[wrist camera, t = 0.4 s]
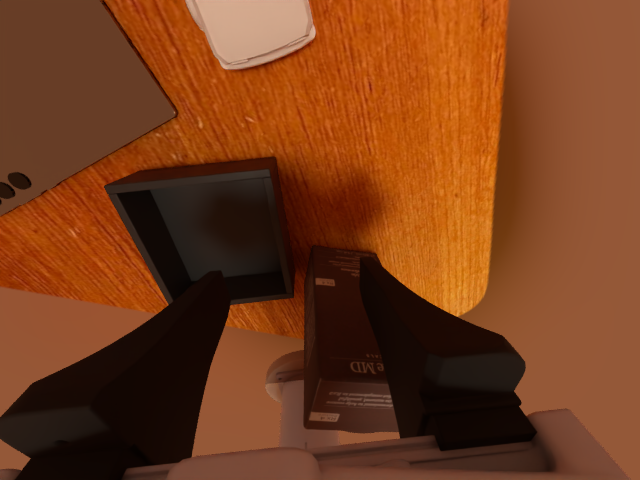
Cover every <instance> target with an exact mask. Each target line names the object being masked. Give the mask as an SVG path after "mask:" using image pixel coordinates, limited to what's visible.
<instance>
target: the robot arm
mask: <svg viewBox="0 0 640 480" xmlns="http://www.w3.org/2000/svg"><path fill="white" fill-rule="evenodd" d="M359 289H360V293H361V298H362V302H363V305H364V308H365V311H366V314H367V317H368V319H369V322H370V325H371V327H372V330H373V333H374V336H375V338H376V341H377V344H378V347H379V350H380V354H381V358H382V362H383V365H384V369H385V373H386V377H387V382H388V386H389V390H390V394H391V398H392V403H393V407H394V411H395V416H396V420H397V425H398V430H399V434H400V439H392V440H383V441H374V442H366V443H355V444H346V445H340V441H339V432H338V430H312V429H311V430H307V429H305V428H304V426H303V415H304V369H301V370H292V371H284V372H278V373H276V379H277V382H278V386H279V389H280V392H281V395H282V406H281V420H280V435H279V447H277V448H268V449H258V450H249V451H239V452H230V453H221V454H212V455H204V456H196V457H192V450H193V444H194V439H195V433H196V428H197V423H198V417H199V412H200V407H201V403H202V399H203V394H204V390H205V385H206V381H207V378H208V374H209V370H210V366H211V363H212V360H213V357H214V354H215V351H216V348H217V346H218V343H219V340H220V337H221V335H222V332H223V329H224V326H225V323H226V321H227V318H228V313H229V309H230V303H231V298H230V295H229V292H228V289H227V286H226V283H225V280H224V277H223V274H222V271H221V270H217V271H209V272H208V273H206V274H205V275H204V276H203V277H202V278H200V279H199V280H198V281H197V282H196V283H195V284H193V285H192V286H191V287H190V288H189V289H188V290H186V291H185V292H184V293H183V294H182V295H181V296H179V297H178V298H177V299H176V300H175V301H173V302H172V303H171V304H169V305H168V306H167V307H166V308H164V309H163V310H162V311H161V312H159V313H158V314H157V315H155V316H154V317H153V318H151V319H150V320H148V321H147V322H145V323H144V324H143V325H141V326H140V327H138V328H137V329H135V330H133V331H132V332H130V333H129V334H127V335H125V336H124V337H122V338H120V339H119V340H117V341H115V342H114V343H112V344H110V345H109V346H107V347H105V348H103V349H101V350H100V351H98V352H96V353H94V354H92V355H90V356H88V357H86V358H84V359H82V360H80V361H79V362H76V363H74V364H72V365H70V366H68V367H66V368H64V369H62V370H60V371H58V372H56V373H53V374H51V375H49V376H47V377H45V378H43V379H40V380H38V381H36V382H34V383H32V384H31V385H30V386H29V387H28V389H27V390H26V391H25V392H24V393H23V394H22V395H21V396H20V397H19V398H18V399H17V400H16V401H15V402H14V403H13V404H12V405H11V407H10V408H9V409H8V410H7V411H6V412H5V413H4V414H3V415H2V416H1V417H0V439H1V440H3V441H4V442H5V443H7V444H9V445H10V446H12V447H13V448H15V449H17V450H18V451H20V452H21V453H23V454H25V455H26V456H28V457H30V458H31V459H30V461H29V462H28V463H27V464H26V466H25V467H24V468H23V470H22V471H21V470H17V469H2V470H0V480H631V479H630V478H629V477H628V476H627V474H626V473H625V472H624V471H623V470H622V469H621V468H620V466H619V465H618V464H617V463H616V462H615V461H614V460H613V458H612V457H611V456H610V455H609V454H608V453H607V452H606V451H605V449H604V448H603V447H602V446H601V445H600V443H599V442H598V441H597V440H596V439H595V438H594V437H593V435H592V434H591V433H590V432H589V431H588V430H587V429H586V428H585V426H584V425H583V424H582V423H581V422H580V421H579V419H578V418H577V417H576V416H575V415H574V414H573V412H572V411H571V410H569V409H557V410H548V411H539V412H534V413H531V414H529V415H527V416H525V414H524V413H523V411H522V410H521V409H520V407H519V406H520V405H521V400H520V399H519V397H518V396H517V395H516V393H515V392H514V390H515V388H516V386H517V385H518V383H519V381H520V380H521V378H522V377H523V374H524V372H525V368H526V367H525V361H524V360H523V359H522V357H521V356H520V355H519V354H518V352H517V351H516V350H515V349H514V348H513V347H512V346H511V344H510V343H509V342H508V341H507V340H506V339H505V338H504V337H503V336H502V335H499V334H497V333H495V332H492V331H489V330H486V329H484V328H481V327H478V326H476V325H474V324H471V323H469V322H467V321H465V320H462V319H460V318H458V317H456V316H454V315H452V314H450V313H448V312H446V311H444V310H442V309H440V308H438V307H436V306H435V305H433V304H431V303H429V302H428V301H426V300H425V299H423V298H422V297H420V296H418V295H417V294H415V293H414V292H412V291H411V290H410V289H408V288H407V287H406V286H404V285H403V284H402V283H401V282H399V281H398V280H397V279H396V278H395V277H393V276H392V275H391V274H390V273H389V272H388V271H387V270H386V269H384V268H383V267H382V266H381V265H380V264H379V263H378V262H377V261H376V260H375V259H374V258H373V257H372V256H371V257H360V278H359ZM191 457H192V458H191Z"/></svg>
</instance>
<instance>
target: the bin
mask: <svg viewBox="0 0 640 480" xmlns="http://www.w3.org/2000/svg"><path fill="white" fill-rule="evenodd" d="M104 188H105V190H106V192H107V194H109V197H110V199H111V201H112V203H113V205H114V206H115V208H116V210H117V212H118V214H119V215H120V217H121V219H122V221H123V223H124V224H125V226H126V228H127V230H128V232H129V234H130V235H131V237H132V239H133V241H134V243H135V244H136V246H137V248H138V250H139V252H140V253H141V255H142V257H143V259H144V261H145V263H146V264H147V266H148V268H149V270H150V272H151V273H152V275H153V277H154V279H155V281H156V282H157V284H158V286H159V288H160V290H161V292H162V293H163V295H164V297H165V299H166V301H167V302H168V304H171V303H172V302H173V301H175V300H176V299H177V298H178V297H179V296H181V295H182V294H183V293H184V292H185V291H186V290H188V289H189V288H190V287H191V286H192V285H193V284H195V283H196V282H197V281H198V280H199V279H200V278H202V277H203V276H204V275H205V274H206V273H208V272H209V271H217V270H221V271H222V274H223V277H224V280H225V283H226V286H227V289H228V292H229V295H230V298H231V303H230V305H234V304H243V303H252V302H261V301H270V300H279V299H288V298H294V286H295V267H294V261H293V256H292V250H291V244H290V238H289V233H288V227H287V221H286V216H285V210H284V204H283V198H282V193H281V187H280V181H279V175H278V170H277V164H276V158H275V157H269V158H260V159H250V160H240V161H231V162H221V163H211V164H202V165H192V166H183V167H173V168H163V169H154V170H144V171H138V172H136V173H133V174H131V175H129V176H126V177H124V178H122V179H119V180H117V181H114V182H112V183H110V184H107V185H105V186H104Z"/></svg>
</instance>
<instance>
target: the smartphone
mask: <svg viewBox="0 0 640 480" xmlns="http://www.w3.org/2000/svg"><path fill="white" fill-rule="evenodd" d="M176 116H177V111H176V109H175V108H174V106H173V105H172V103H171V102H170V100H169V99H168V97H167V96H166V94H165V93H164V91H163V90H162V89H161V87H160V86H159V84H158V83H157V81H156V80H155V78H154V77H153V75H152V74H151V72H150V71H149V69H148V68H147V66H146V65H145V63H144V62H143V60H142V59H141V57H140V56H139V54H138V53H137V51H136V50H135V48H134V47H133V45H132V44H131V42H130V41H129V39H128V38H127V36H126V35H125V33H124V32H123V31H122V29H121V28H120V26H119V25H118V23H117V22H116V20H115V19H114V17H113V16H112V14H111V13H110V11H109V10H108V8H107V7H106V5H105V4H104V2H103V1H102V0H0V217H1V216H2V215H4V214H6V213H8V212H9V211H11V210H13V209H15V208H16V207H18V206H20V205H23V204H25V203H27V202H29V201H30V200H32V199H34V198H36V197H37V196H39V195H41V194H42V193H43V192H45V191H46V190H50V189H51V188H53V187H55V186H57V185H58V184H59V183H60V182H62V181H64V180H66V179H67V178H69V177H71V176H73V175H74V174H76V173H78V172H80V171H81V170H83V169H85V168H87V167H88V166H90V165H92V164H94V163H95V162H97V161H99V160H101V159H102V158H104V157H106V156H108V155H109V154H111V153H113V152H115V151H116V150H118V149H120V148H122V147H123V146H125V145H127V144H129V143H130V142H132V141H134V140H136V139H137V138H139V137H141V136H143V135H144V134H146V133H148V132H150V131H151V130H153V129H155V128H157V127H158V126H160V125H162V124H164V123H165V122H167V121H169V120H171V119H173V118H174V117H176Z"/></svg>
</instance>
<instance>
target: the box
mask: <svg viewBox="0 0 640 480" xmlns="http://www.w3.org/2000/svg"><path fill="white" fill-rule="evenodd" d="M371 256H372V257H373V258H374V259H375V260H376V261H377V262H378V263H379V264H380V265H381V263H380V260H379V259H378V257H377V254H375V253H366V252H357V251H350V250H341V249H334V248H327V247H321V246H316V245H313V246H312V248H311V252H310V257H309V262H308V267H307V272H306V277H305V281H304V312H305V313H304V320H305V321H304V415H303V426H304V428H305V429H307V430H311V429H312V430H341V431H347V432H352V433H374V432H399V430H398V425H397V420H396V416H395V411H394V407H393V403H392V398H391V394H390V390H389V386H388V382H387V377H386V373H385V369H384V365H383V362H382V358H381V354H380V350H379V347H378V344H377V341H376V338H375V336H374V333H373V330H372V327H371V325H370V322H369V319H368V317H367V314H366V311H365V308H364V305H363V302H362V298H361V293H360V289H359V278H360V257H371ZM381 266H382V265H381Z"/></svg>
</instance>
